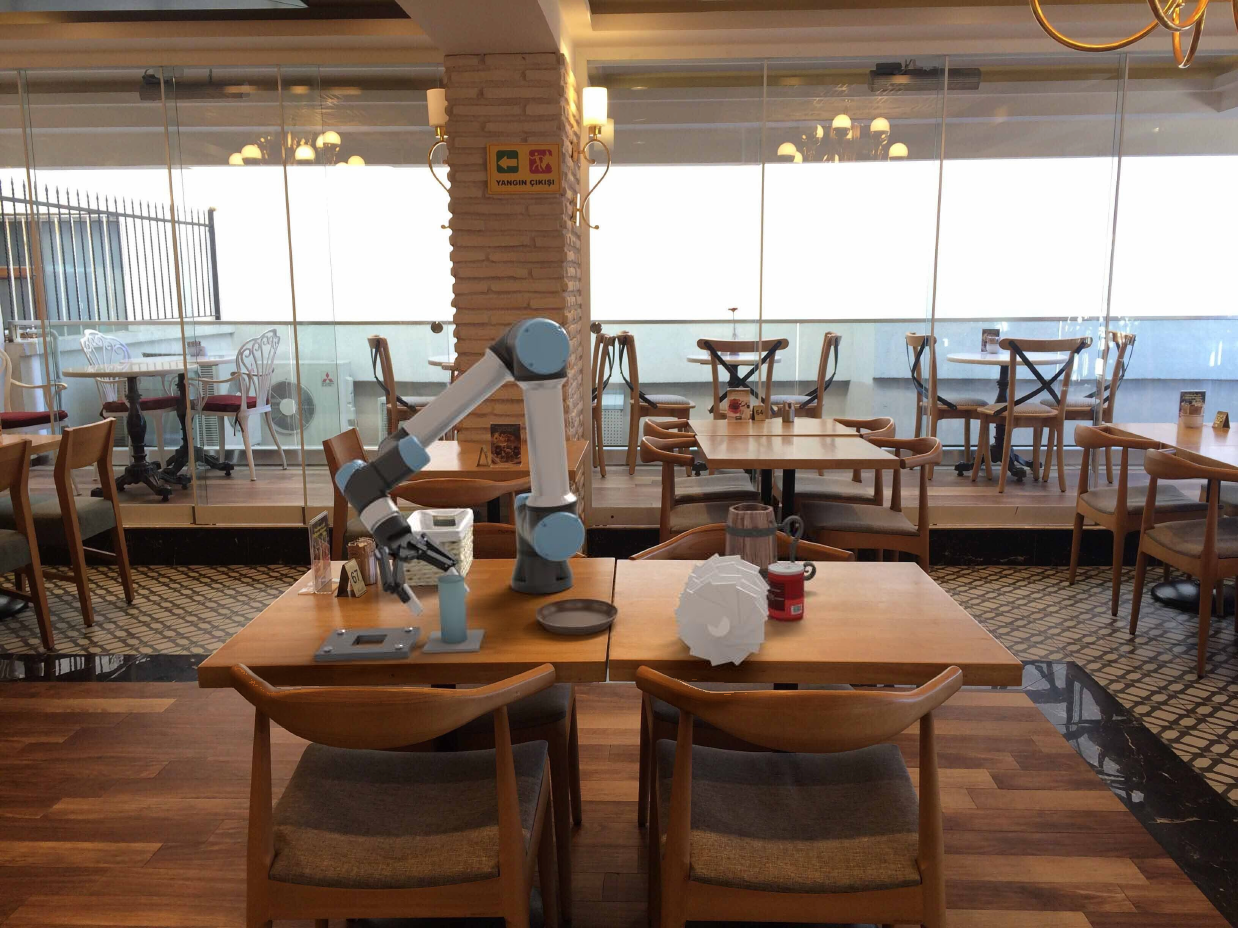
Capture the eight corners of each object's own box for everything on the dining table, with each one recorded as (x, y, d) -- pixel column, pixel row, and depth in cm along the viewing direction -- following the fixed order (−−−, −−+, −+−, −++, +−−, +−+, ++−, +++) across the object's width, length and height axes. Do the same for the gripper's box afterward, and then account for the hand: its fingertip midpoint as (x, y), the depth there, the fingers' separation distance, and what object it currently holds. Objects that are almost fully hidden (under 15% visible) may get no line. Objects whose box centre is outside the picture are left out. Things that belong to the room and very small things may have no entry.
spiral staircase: (746, 647, 196) (743, 689, 172) (670, 609, 198) (656, 646, 173) (785, 570, 193) (787, 602, 169) (707, 533, 195) (697, 559, 170)
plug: (468, 634, 195) (465, 574, 193) (465, 643, 190) (461, 581, 188) (443, 635, 195) (439, 574, 193) (439, 644, 190) (435, 582, 188)
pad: (484, 632, 198) (484, 629, 198) (478, 651, 187) (478, 648, 187) (432, 633, 198) (431, 631, 198) (422, 653, 187) (422, 650, 187)
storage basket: (464, 586, 231) (461, 528, 229) (398, 588, 231) (394, 530, 228) (477, 560, 255) (474, 507, 252) (417, 562, 255) (414, 509, 252)
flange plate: (420, 633, 198) (419, 624, 198) (407, 658, 184) (407, 648, 184) (334, 636, 198) (333, 627, 197) (315, 661, 184) (314, 651, 184)
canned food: (806, 611, 205) (806, 562, 204) (801, 623, 198) (801, 573, 196) (771, 608, 208) (771, 560, 206) (764, 620, 200) (764, 570, 199)
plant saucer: (624, 635, 195) (624, 621, 194) (539, 642, 192) (538, 628, 191) (611, 608, 212) (611, 595, 211) (533, 614, 209) (532, 601, 209)
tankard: (717, 601, 214) (716, 516, 211) (713, 580, 231) (712, 500, 227) (821, 600, 213) (822, 514, 209) (810, 579, 229) (810, 498, 226)
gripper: (420, 523, 210) (475, 597, 204) (332, 548, 189) (390, 632, 184) (436, 502, 206) (492, 577, 201) (348, 525, 185) (408, 610, 180)
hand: (443, 604), depth 192 cm, fingers open, 13 cm apart
